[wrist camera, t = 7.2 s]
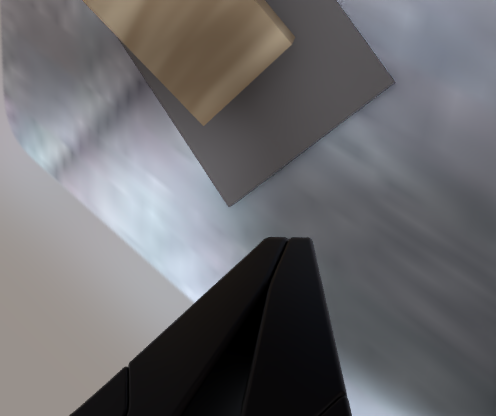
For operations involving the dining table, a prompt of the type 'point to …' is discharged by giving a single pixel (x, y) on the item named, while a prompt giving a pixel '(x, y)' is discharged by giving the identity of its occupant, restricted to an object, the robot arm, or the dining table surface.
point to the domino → (199, 44)
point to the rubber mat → (282, 99)
